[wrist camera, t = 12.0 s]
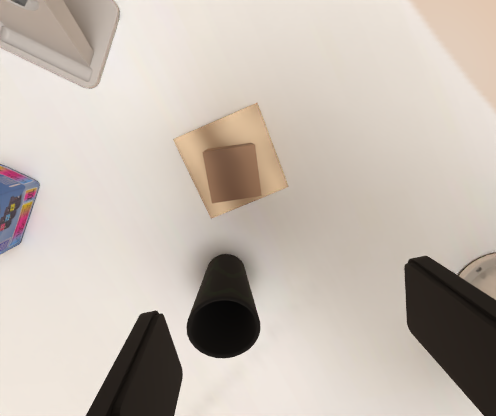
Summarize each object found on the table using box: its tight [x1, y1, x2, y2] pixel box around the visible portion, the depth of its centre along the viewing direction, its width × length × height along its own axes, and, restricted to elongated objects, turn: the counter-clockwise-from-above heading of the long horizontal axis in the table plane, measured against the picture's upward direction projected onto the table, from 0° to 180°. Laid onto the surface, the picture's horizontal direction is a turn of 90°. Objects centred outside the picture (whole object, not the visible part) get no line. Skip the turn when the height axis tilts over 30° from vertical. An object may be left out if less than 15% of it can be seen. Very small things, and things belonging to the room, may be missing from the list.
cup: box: [187, 254, 260, 358], centre depth 33 cm, size 8×8×12 cm
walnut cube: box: [203, 143, 262, 203], centre depth 28 cm, size 5×5×5 cm
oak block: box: [173, 103, 288, 218], centre depth 33 cm, size 10×10×5 cm
